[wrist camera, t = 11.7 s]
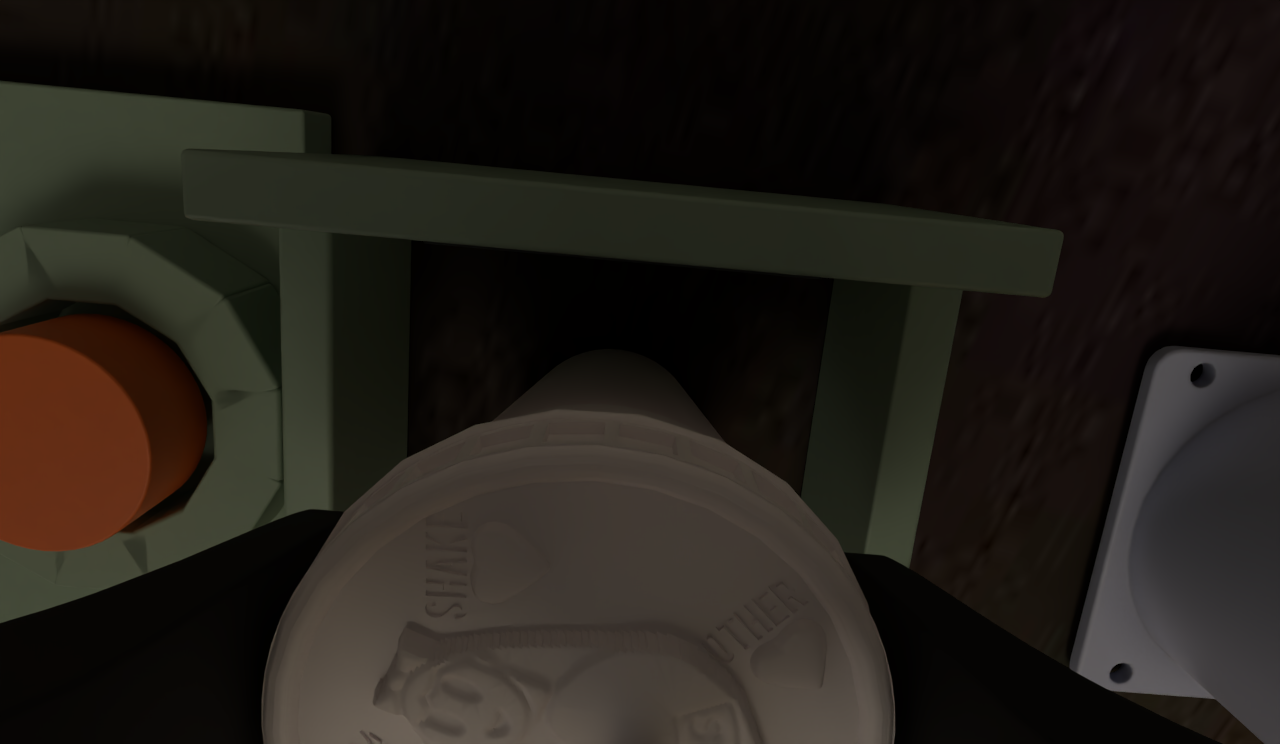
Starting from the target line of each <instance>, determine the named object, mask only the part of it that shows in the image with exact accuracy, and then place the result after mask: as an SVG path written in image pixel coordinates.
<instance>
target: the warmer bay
mask: <svg viewBox="0 0 1280 744" xmlns="http://www.w3.org/2000/svg"><path fill="white" fill-rule="evenodd" d="M181 162H182V182H183V203H184V214H185V217H187V218H189V219H191V220H199V221H210V222H220V223H231V224H242V225H253V226H264V227H275V228H279V260H280V310H281V361H282V411H283V461H284V511H285V517H286V516H288V515H291V514H294V513H297V512H301V511H304V510H308V509H318V510H331V511H343V512H345V511H346V510H347V509H348V508H349V507H350V506H351V505H352V504H353V503H355V502H356V501H357V500H358V499H359V498H360V497H361V496H363V495H364V494H365V493H366V492H367V491H368V490H369V489H370V488H372V487H373V486H374V485H375V484H376V483H377V482H378V481H379V480H381V479H382V478H383V477H384V476H385V475H386V474H387V473H389V472H390V471H391V470H392V469H393V468H394V467H395V466H396V465H398V464H399V463H400V462H401V461H402V460H404V459H406V458H407V431H408V383H409V335H410V286H411V240H418V241H424V243H426V244H437V245H448V246H459V247H470V248H481V249H492V250H503V251H513V252H524V253H535V254H546V255H557V256H568V257H579V258H590V259H601V260H612V261H623V262H634V263H645V264H656V265H667V266H678V267H689V268H700V269H711V270H722V271H733V272H744V273H755V274H766V275H777V276H788V277H799V278H810V279H821V277H824V278H834V283H833V289H832V296H831V302H830V309H829V315H828V322H827V329H826V335H825V342H824V348H823V355H822V361H821V368H820V375H819V381H818V388H817V394H816V401H815V407H814V414H813V420H812V427H811V434H810V440H809V447H808V453H807V460H806V466H805V473H804V480H803V486H802V493H801V499H802V500H803V501H804V502H805V503H806V505H807V506H808V507H809V508H810V509H811V510H812V511H813V512H814V514H815V515H816V516H817V517H818V518H819V519H820V520H821V521H822V523H823V524H824V525H825V526H826V527H827V528H828V529H829V530H830V532H831V533H832V534H833V535H834V536H835V537H836V538H837V539H838V541H839V543H840V546H841V548H842V550H843V552H848V553H860V554H873V555H884V556H886V557H889V558H891V559H893V560H895V561H897V562H899V563H900V564H902V565H904V566H906V567H907V568H909V566H910V561H911V556H912V550H913V545H914V540H915V535H916V530H917V524H918V519H919V514H920V509H921V504H922V499H923V493H924V488H925V483H926V478H927V473H928V467H929V462H930V457H931V452H932V447H933V442H934V436H935V431H936V426H937V421H938V416H939V410H940V405H941V400H942V395H943V390H944V385H945V379H946V374H947V369H948V364H949V359H950V354H951V348H952V343H953V338H954V333H955V328H956V322H957V317H958V312H959V307H960V302H961V297H962V291H963V290H966V291H977V292H988V293H999V294H1010V295H1021V296H1032V297H1047V296H1050V294H1051V292H1052V288H1053V283H1054V279H1055V274H1056V270H1057V265H1058V261H1059V256H1060V252H1061V247H1062V242H1063V238H1064V237H1063V233H1062V232H1061V231H1059V230H1055V229H1048V228H1041V227H1035V226H1028V225H1021V224H1015V223H1008V222H1002V221H995V220H988V219H982V218H975V217H969V216H962V215H956V214H949V213H942V212H936V211H929V210H922V209H916V208H909V207H903V206H896V205H889V204H882V203H872V202H861V201H851V200H840V199H829V198H818V197H808V196H797V195H787V194H776V193H765V192H755V191H744V190H734V189H723V188H712V187H702V186H691V185H681V184H670V183H659V182H649V181H638V180H627V179H617V178H606V177H596V176H585V175H574V174H564V173H553V172H543V171H532V170H521V169H511V168H500V167H490V166H479V165H468V164H458V163H447V162H437V161H426V160H415V159H405V158H394V157H383V156H368V155H343V154H318V153H292V152H267V151H242V150H217V149H191V148H188V149H185V150H183V151H182V154H181Z"/></svg>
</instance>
